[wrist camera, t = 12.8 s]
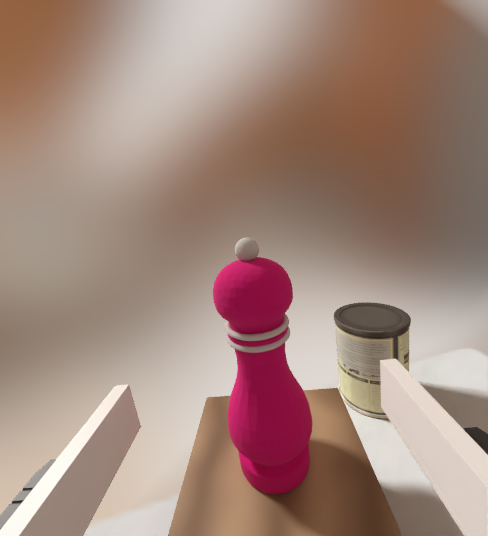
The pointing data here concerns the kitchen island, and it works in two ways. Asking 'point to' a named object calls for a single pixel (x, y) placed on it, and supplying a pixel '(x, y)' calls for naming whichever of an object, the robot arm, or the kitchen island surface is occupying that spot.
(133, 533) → the kitchen island surface
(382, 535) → the stool
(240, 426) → the pepper mill
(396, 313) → the coffee can
